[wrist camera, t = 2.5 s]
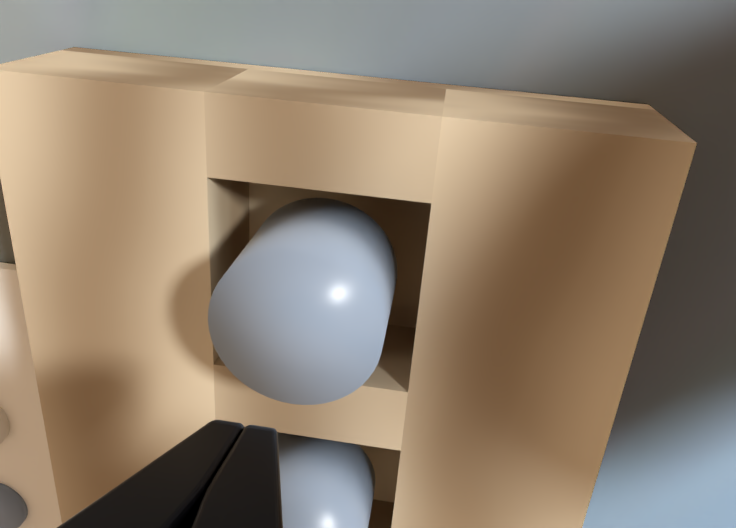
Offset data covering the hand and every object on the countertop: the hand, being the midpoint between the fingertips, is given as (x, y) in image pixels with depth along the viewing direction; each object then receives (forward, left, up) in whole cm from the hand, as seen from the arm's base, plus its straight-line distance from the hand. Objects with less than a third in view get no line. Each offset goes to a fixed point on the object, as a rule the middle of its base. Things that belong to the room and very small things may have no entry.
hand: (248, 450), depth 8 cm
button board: (0, +5, -7) cm, 9 cm away
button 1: (0, 0, -5) cm, 5 cm away
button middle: (0, +5, -5) cm, 8 cm away
